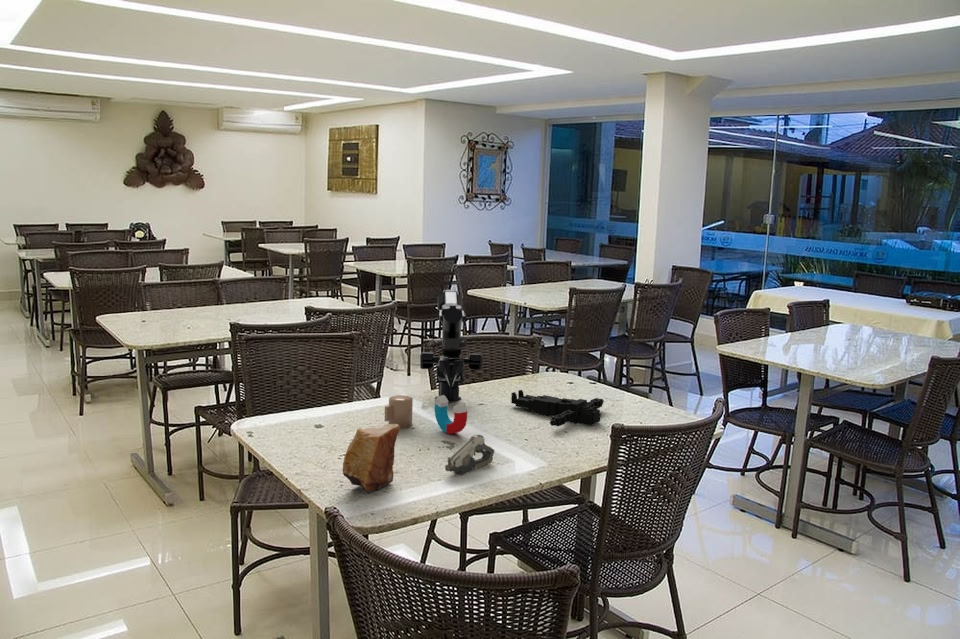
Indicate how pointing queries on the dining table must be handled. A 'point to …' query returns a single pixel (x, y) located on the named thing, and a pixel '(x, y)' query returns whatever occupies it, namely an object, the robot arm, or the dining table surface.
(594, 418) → the toy
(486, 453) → the futuristic pistol
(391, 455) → the stone
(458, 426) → the magnet
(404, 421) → the cup
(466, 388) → the dining table surface
